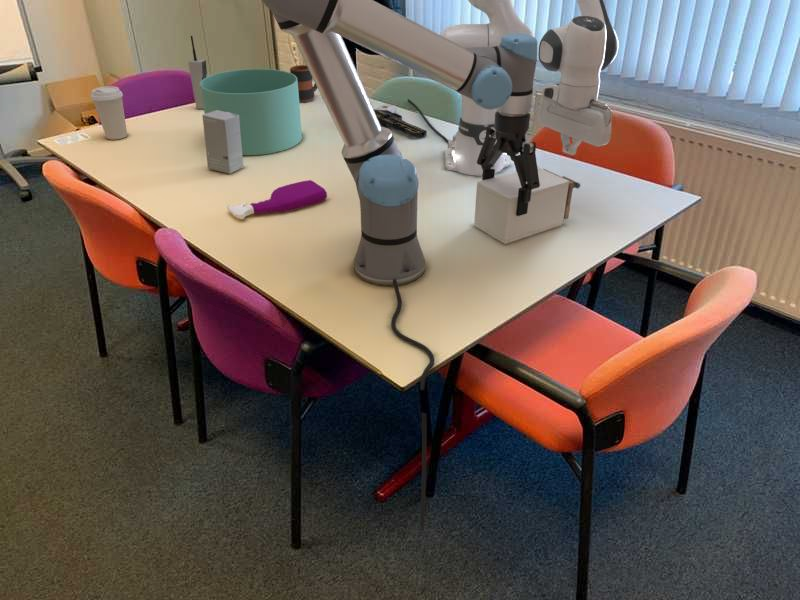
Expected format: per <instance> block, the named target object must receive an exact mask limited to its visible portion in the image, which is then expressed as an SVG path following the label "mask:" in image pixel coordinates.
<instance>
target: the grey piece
mask: <svg viewBox="0 0 800 600" xmlns="http://www.w3.org/2000/svg"><path fill="white" fill-rule="evenodd" d="M542 169H543V170H546V171H548V172H550V173H552V174H554V175H557V176H559V177H561V178H563V179H566V180H568V181H569V186H568V193H567V199H566V206H565V212H564V219H563V220H568V219H569V215H570V211H571V202H572V196H573V190H574V189H580V187H581V183H580V182H577V181H576V180H573V179H571V178H569V177H567V176H565V175H563V176H561V175H559V174H557V173H554V172H552V171H550V170H548V169H546V168H542Z"/></svg>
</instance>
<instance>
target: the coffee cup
mask: <svg viewBox="0 0 800 600" xmlns="http://www.w3.org/2000/svg"><path fill="white" fill-rule="evenodd" d="M123 96H124V94H123V92H122V91H121V90H120V88H119V87H118V86H113V85H112V86H110V85H109V86H100V87H96V88H94V89H92V90H91V94H90V99H91V100H92V101H93V105H94V107H95V109H96V113H97V115H98V118H99V121H100V124H101V127H102V129H103V133H104V135H105V138H106V139H108V140H113V141H114V140H122V139H125V138H126V137H128V129H127V124H126V123H127V122H126V116H125V111H124V101H123Z"/></svg>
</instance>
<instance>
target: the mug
mask: <svg viewBox="0 0 800 600" xmlns="http://www.w3.org/2000/svg"><path fill="white" fill-rule="evenodd" d="M289 73H292V74H293V75H295V76H296V77H297V81H298V92H299V103H308V102H311V101H313V100H314V98H315V92H316V91H317V90H318V88H317V86H316V84H315V83H313V77H312V75H311V73H310V71H309V69H308V67H307V65H306V64H305V65H304V64H303V65H302V64H299V65H293V66H291V67H290V69H289Z"/></svg>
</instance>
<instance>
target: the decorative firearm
mask: <svg viewBox="0 0 800 600" xmlns="http://www.w3.org/2000/svg"><path fill="white" fill-rule="evenodd" d="M373 109H374V112H375V114H376V116H377V118H378V121H379V123H380V125H381V126H382V127H385V126H389V127H391V128H393V129H395V130H397V131H399V132H401V133H404V134H406V135H408V136H411V137H415V138H416V137H419V138H424V137H426V136H427V132H428V130H426V129H423V128H421V127H420V126H416V125H413V124H411V123H409V122H406V121H405V120H403V115H401V114H399V113H397V110H398V107H397V105H393V104H388V103H385V104H382V105H379V106H378V107H376V108H373Z"/></svg>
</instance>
